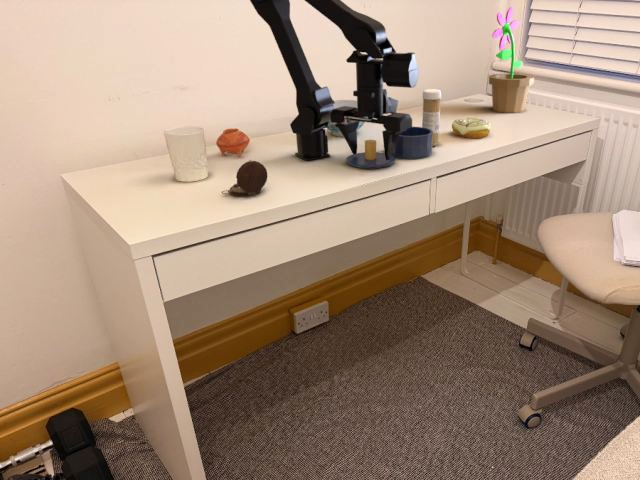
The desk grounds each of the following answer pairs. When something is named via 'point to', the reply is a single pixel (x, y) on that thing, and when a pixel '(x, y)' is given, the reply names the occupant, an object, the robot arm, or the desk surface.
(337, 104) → the chinaware
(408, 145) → the tin
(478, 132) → the decorated donut
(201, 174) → the white cup
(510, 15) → the flowerpot
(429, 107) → the sprinkles bottle
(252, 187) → the compass
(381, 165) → the tin lid
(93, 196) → the desk surface
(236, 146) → the pot
